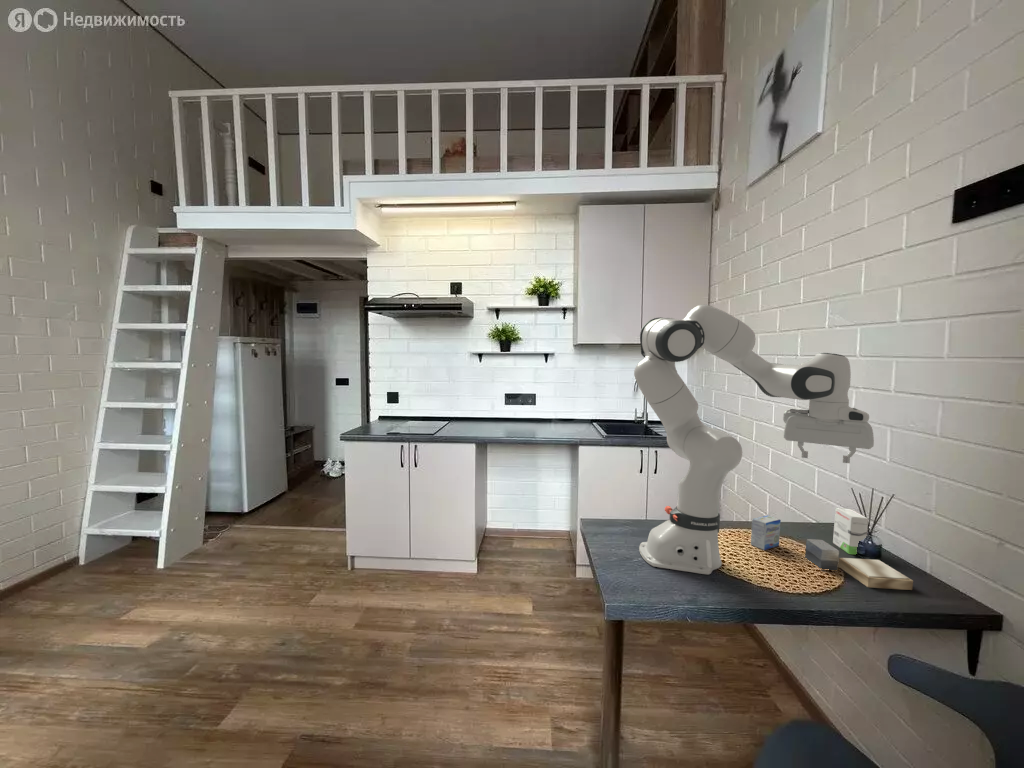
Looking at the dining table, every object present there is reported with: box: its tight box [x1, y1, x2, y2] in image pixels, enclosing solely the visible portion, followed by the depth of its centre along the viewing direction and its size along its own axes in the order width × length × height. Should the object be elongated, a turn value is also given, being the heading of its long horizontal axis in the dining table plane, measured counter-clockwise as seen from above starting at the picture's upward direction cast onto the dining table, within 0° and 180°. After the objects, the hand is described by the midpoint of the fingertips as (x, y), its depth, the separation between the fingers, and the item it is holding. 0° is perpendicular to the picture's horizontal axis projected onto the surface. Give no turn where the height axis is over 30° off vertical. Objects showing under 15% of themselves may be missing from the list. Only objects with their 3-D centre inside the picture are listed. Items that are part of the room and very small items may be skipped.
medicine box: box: [750, 515, 782, 551], centre depth 133 cm, size 8×4×9 cm, turn 117°
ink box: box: [832, 507, 869, 556], centre depth 133 cm, size 9×5×12 cm, turn 171°
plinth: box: [838, 557, 914, 591], centre depth 115 cm, size 11×11×3 cm
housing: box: [804, 538, 840, 571], centre depth 122 cm, size 4×7×6 cm, turn 176°
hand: (824, 460), depth 119 cm, fingers open, 8 cm apart
